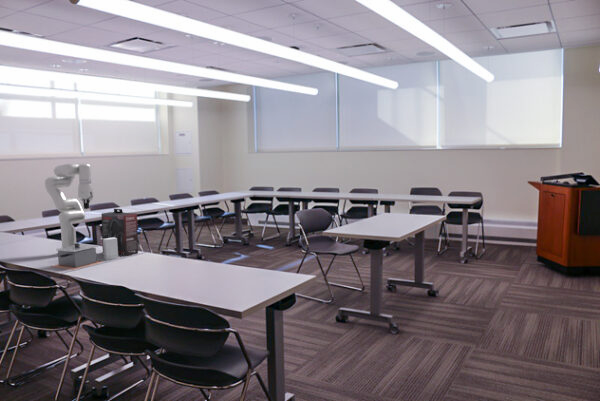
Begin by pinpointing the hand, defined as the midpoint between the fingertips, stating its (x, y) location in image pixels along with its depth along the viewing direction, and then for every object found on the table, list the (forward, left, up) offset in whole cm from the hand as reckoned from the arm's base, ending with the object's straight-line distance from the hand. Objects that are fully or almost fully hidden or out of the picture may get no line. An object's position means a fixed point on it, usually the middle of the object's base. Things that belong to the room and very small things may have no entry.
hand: (86, 208), depth 330 cm
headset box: (+6, +23, -35) cm, 43 cm away
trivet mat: (+10, -17, -35) cm, 40 cm away
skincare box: (+16, +5, -35) cm, 39 cm away
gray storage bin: (+10, -17, -34) cm, 40 cm away
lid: (+10, -17, -24) cm, 31 cm away
